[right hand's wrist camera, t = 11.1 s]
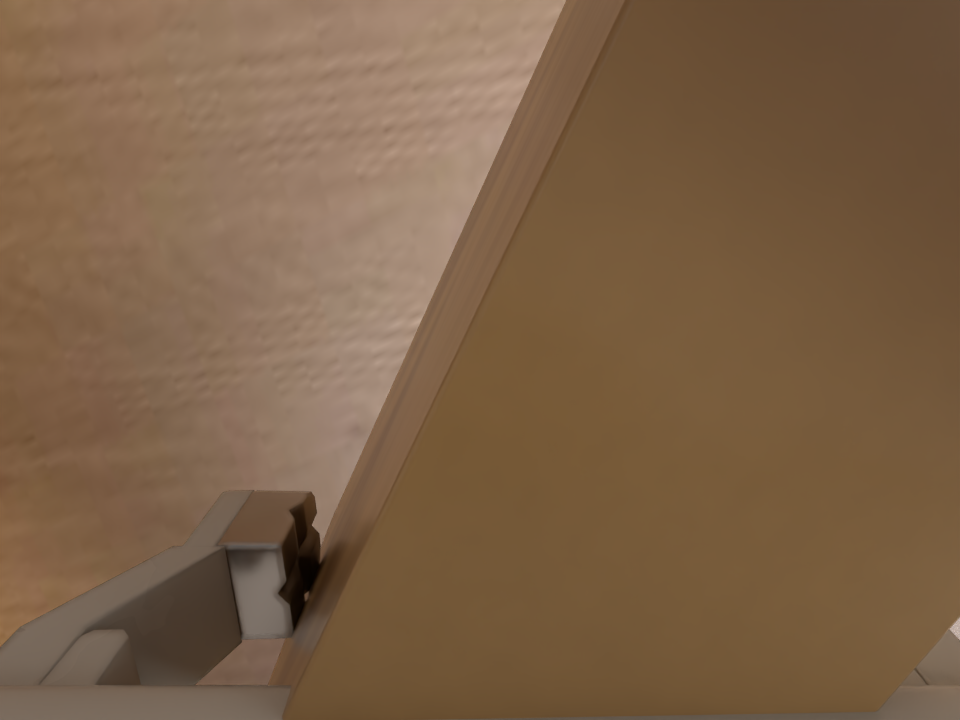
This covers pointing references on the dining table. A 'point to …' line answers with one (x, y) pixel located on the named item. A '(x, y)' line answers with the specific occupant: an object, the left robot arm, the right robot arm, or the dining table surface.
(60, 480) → the dining table surface
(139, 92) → the dining table surface
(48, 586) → the dining table surface
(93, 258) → the dining table surface
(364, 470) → the bar
